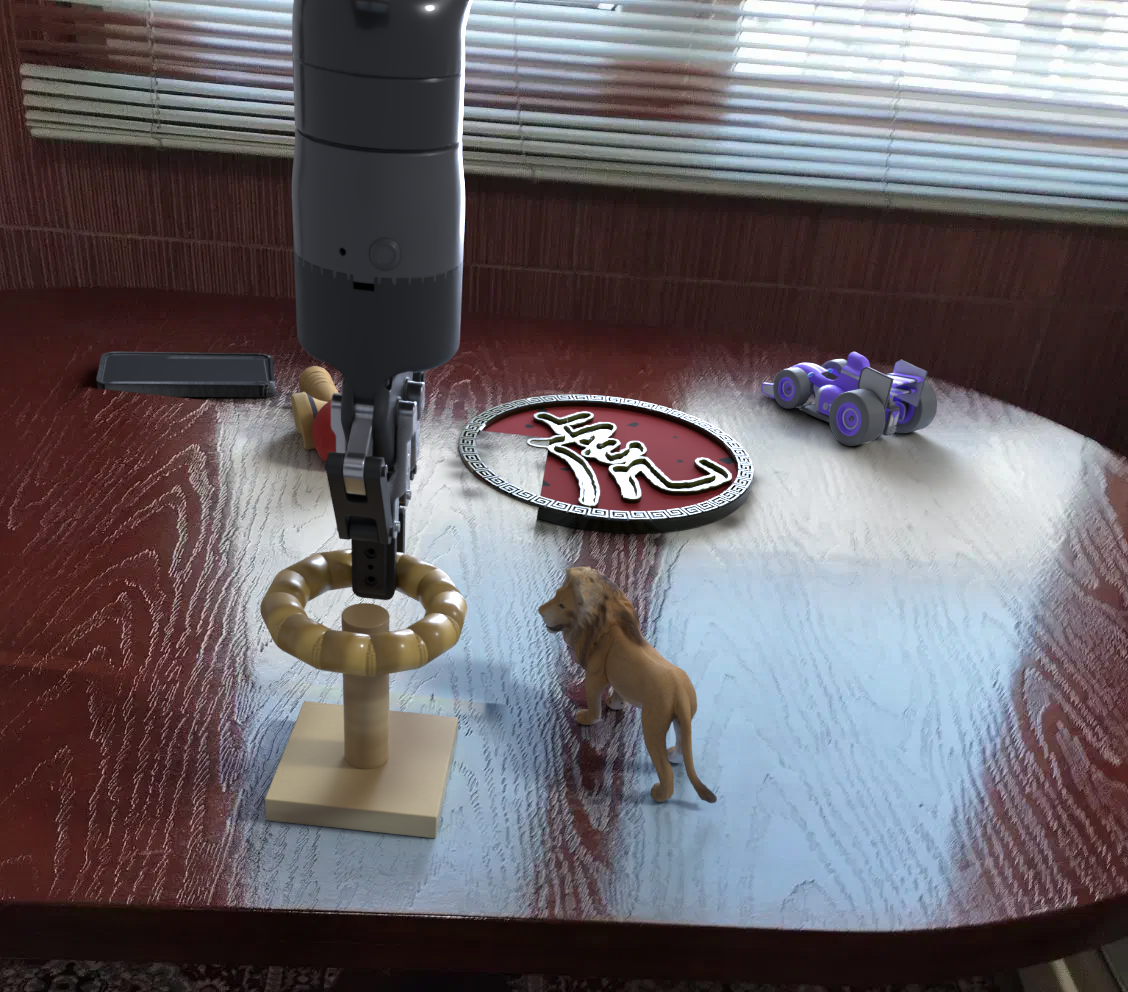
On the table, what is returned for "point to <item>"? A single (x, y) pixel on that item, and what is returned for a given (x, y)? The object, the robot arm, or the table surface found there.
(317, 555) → the ring
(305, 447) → the kendama
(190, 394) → the phone
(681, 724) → the lion figurine
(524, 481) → the table surface
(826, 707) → the table surface
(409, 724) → the post
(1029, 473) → the table surface
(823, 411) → the toy race car
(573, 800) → the table surface
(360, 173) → the robot arm
